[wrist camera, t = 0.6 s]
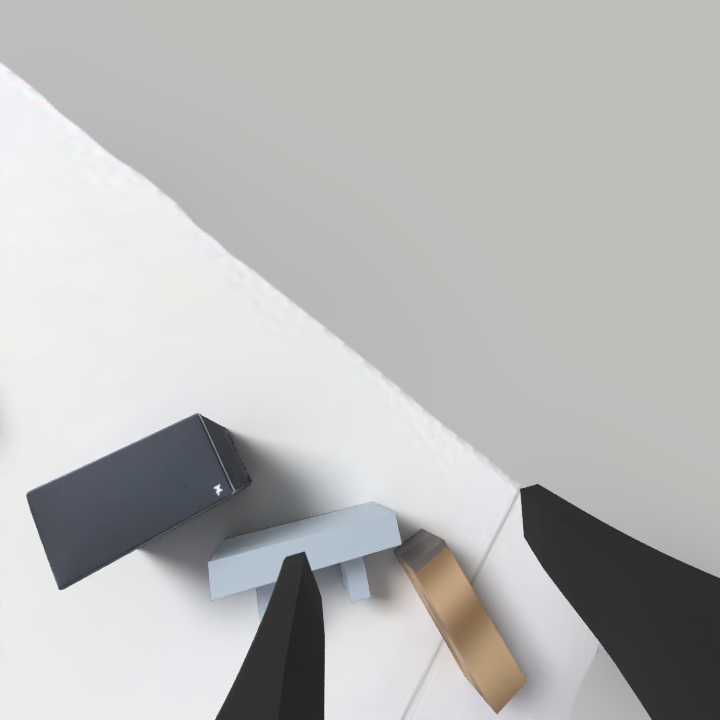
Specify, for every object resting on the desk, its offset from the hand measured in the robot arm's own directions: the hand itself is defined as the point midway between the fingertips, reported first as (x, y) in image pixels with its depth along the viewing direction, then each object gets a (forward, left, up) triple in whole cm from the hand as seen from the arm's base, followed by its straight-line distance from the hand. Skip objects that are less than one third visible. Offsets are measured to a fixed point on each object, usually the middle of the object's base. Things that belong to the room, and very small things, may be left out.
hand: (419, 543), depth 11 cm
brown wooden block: (-13, -9, -24) cm, 29 cm away
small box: (+3, +13, -24) cm, 27 cm away
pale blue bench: (-5, +3, -24) cm, 25 cm away
